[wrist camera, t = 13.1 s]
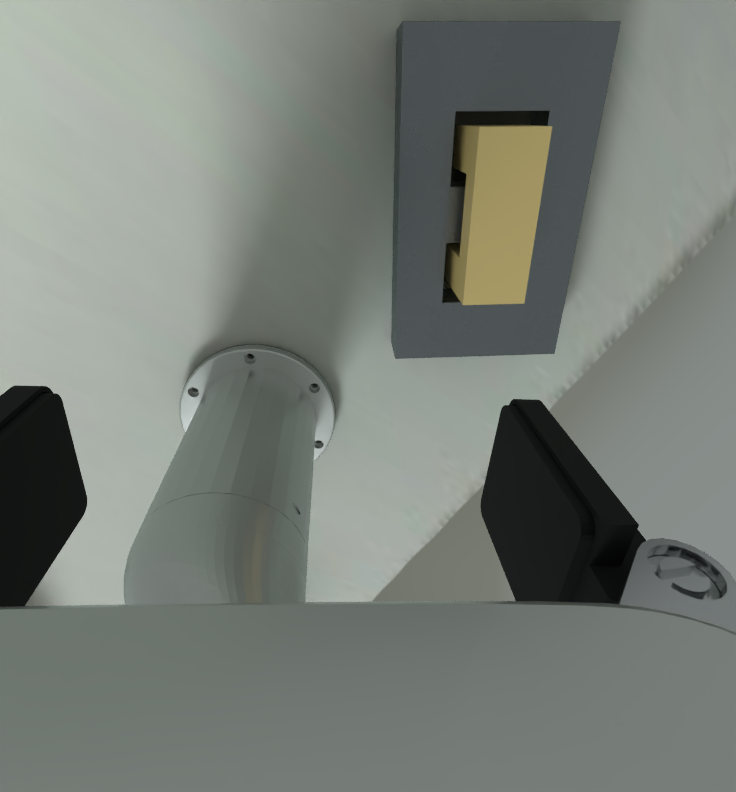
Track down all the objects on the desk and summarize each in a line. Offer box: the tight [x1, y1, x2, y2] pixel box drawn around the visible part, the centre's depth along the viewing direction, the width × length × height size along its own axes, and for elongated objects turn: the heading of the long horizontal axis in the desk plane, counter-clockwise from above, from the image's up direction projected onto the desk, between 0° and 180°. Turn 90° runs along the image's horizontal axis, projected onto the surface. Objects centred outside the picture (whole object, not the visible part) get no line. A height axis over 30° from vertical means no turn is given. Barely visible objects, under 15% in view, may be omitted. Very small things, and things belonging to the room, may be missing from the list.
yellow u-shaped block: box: [445, 125, 552, 305], centre depth 31 cm, size 10×4×6 cm, turn 0°
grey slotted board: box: [391, 21, 621, 359], centre depth 33 cm, size 20×12×3 cm, turn 0°
